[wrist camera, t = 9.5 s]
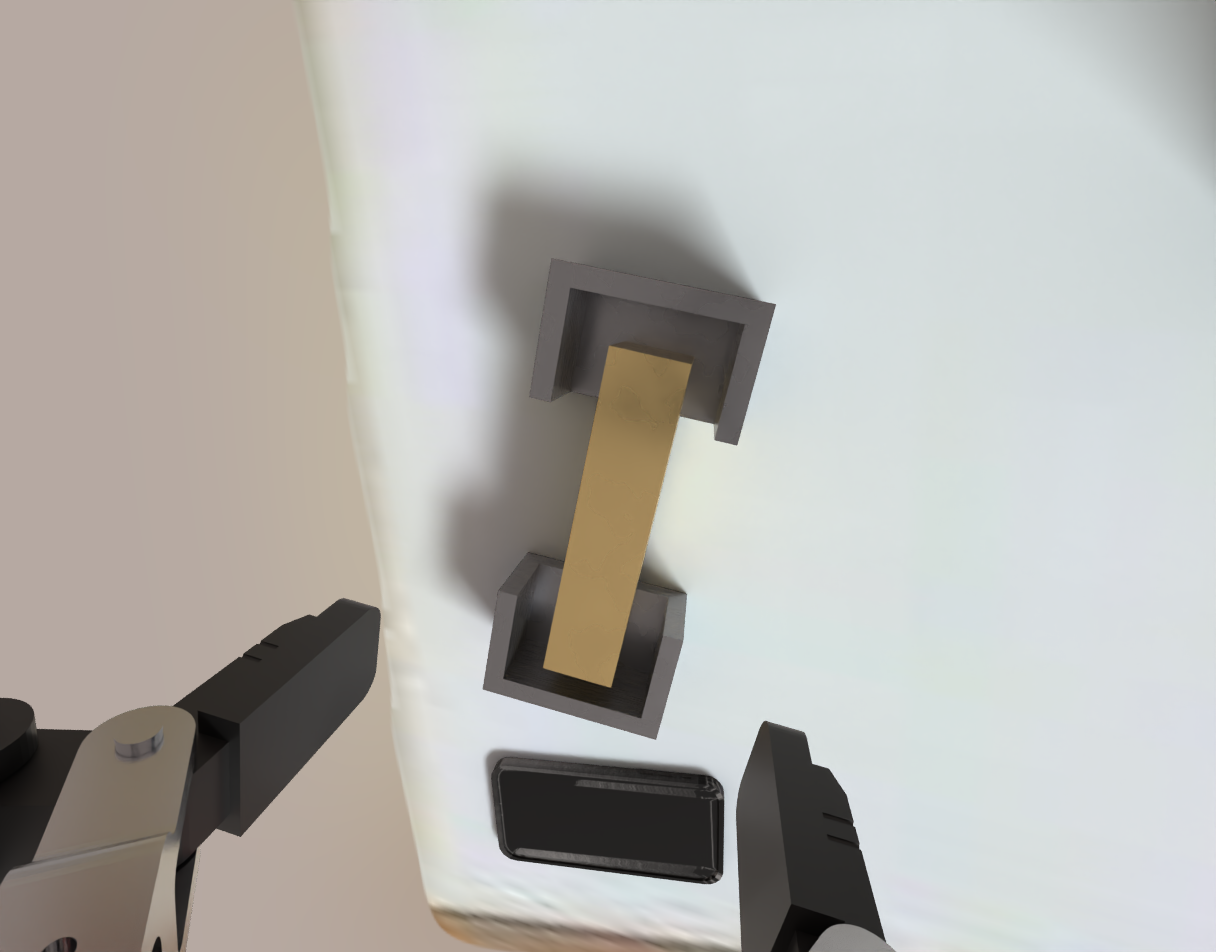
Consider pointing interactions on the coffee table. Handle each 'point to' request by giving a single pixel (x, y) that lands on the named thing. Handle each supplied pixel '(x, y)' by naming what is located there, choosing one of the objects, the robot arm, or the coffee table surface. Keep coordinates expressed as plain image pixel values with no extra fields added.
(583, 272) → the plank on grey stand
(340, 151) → the coffee table surface
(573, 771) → the phone
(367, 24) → the coffee table surface
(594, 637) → the link bar
